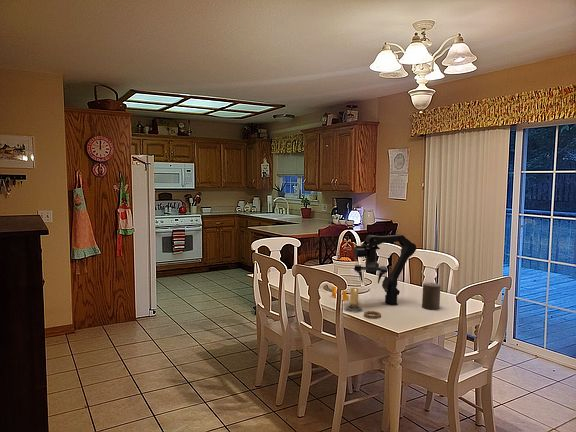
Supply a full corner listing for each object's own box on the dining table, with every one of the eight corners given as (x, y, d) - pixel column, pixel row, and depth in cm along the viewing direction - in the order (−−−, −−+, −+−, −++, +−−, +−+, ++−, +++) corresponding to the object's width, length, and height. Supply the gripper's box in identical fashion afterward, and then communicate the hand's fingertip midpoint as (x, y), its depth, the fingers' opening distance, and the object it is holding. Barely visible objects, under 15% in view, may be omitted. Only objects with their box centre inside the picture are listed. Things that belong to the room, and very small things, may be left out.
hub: (362, 307, 248) (362, 305, 248) (363, 312, 239) (363, 310, 239) (345, 306, 250) (345, 304, 250) (344, 311, 240) (344, 309, 240)
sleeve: (359, 309, 245) (359, 288, 244) (355, 311, 241) (356, 290, 240) (352, 308, 248) (352, 287, 247) (348, 309, 244) (348, 289, 243)
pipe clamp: (348, 300, 264) (348, 290, 263) (342, 301, 262) (342, 290, 262) (337, 295, 275) (337, 285, 274) (332, 296, 273) (332, 286, 272)
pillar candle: (428, 310, 244) (429, 284, 243) (418, 305, 254) (419, 280, 252) (443, 309, 247) (444, 283, 246) (433, 304, 256) (434, 279, 255)
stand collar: (380, 314, 237) (380, 311, 236) (381, 319, 228) (381, 316, 228) (364, 313, 238) (364, 310, 238) (364, 318, 229) (364, 315, 229)
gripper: (354, 258, 245) (353, 285, 246) (388, 260, 242) (387, 287, 243) (355, 255, 256) (354, 281, 257) (387, 256, 253) (386, 283, 254)
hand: (370, 283), depth 253 cm, fingers open, 9 cm apart
